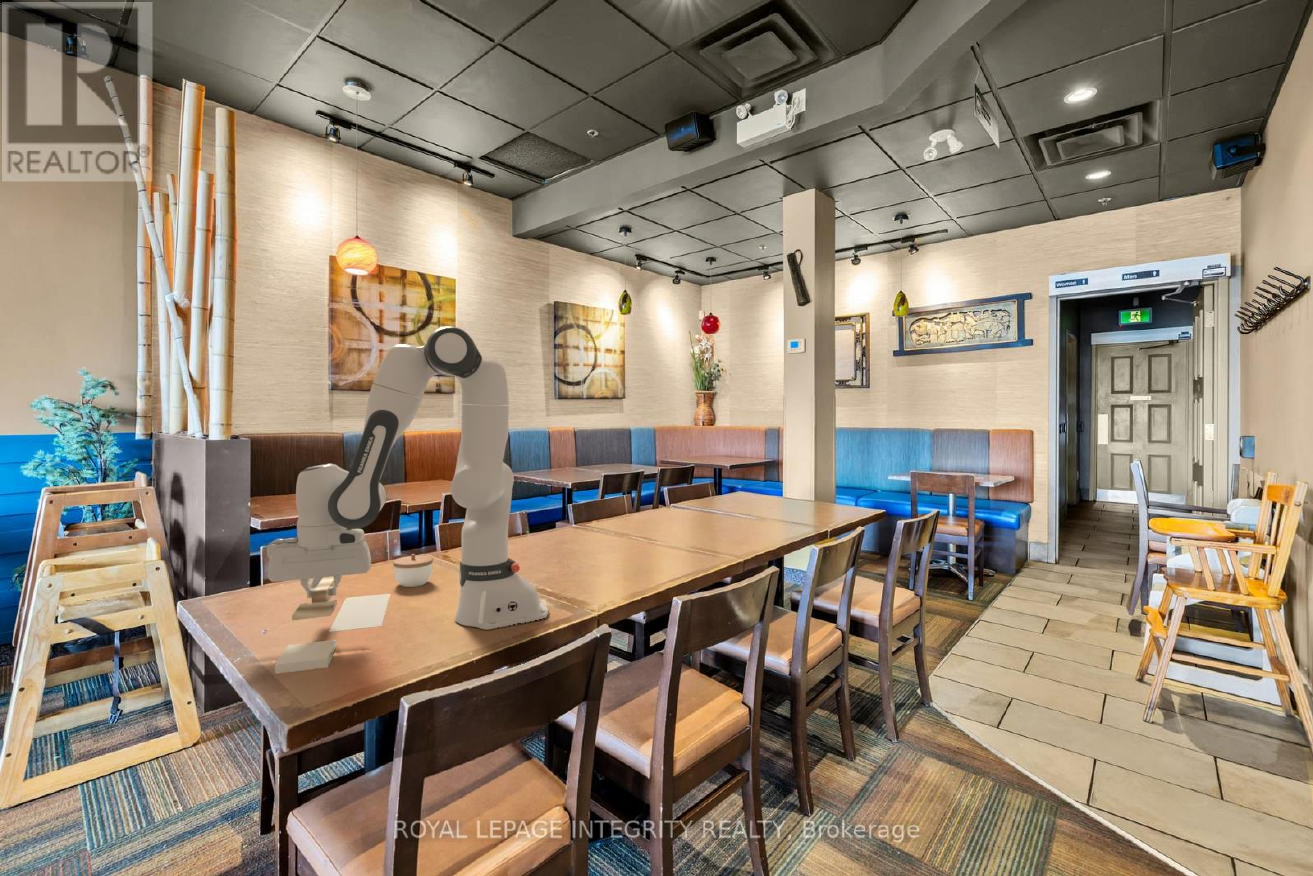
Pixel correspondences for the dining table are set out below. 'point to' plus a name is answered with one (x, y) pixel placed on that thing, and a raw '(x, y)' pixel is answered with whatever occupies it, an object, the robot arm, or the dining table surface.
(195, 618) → the dining table surface
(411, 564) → the lidded jar
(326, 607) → the turner
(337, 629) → the mat
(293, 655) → the rectangular block
